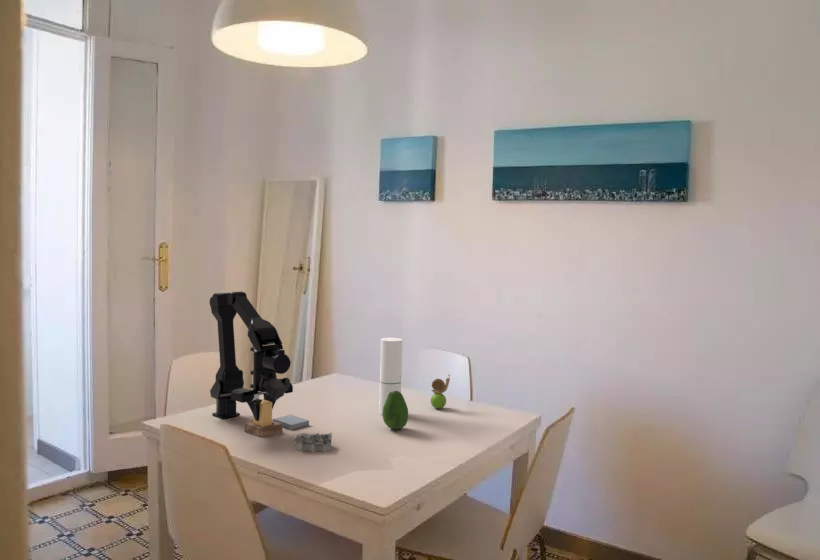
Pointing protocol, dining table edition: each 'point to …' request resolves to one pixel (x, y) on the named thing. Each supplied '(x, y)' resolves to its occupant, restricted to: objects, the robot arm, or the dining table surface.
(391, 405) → the avocado
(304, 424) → the grey rubber mat
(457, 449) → the dining table surface
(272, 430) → the brown square frame
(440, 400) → the snail figurine
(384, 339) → the cylindrical container
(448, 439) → the dining table surface
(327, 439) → the egg carton
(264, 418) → the amber plug
